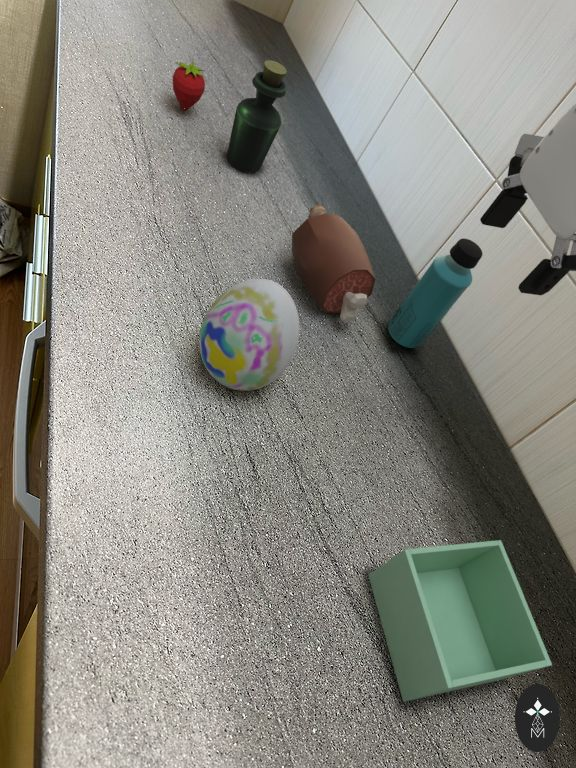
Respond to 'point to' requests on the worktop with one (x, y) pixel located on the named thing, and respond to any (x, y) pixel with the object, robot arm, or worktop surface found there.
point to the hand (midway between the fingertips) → (509, 256)
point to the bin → (455, 618)
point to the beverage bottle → (434, 294)
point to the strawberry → (188, 85)
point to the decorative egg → (250, 335)
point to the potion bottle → (257, 120)
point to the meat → (332, 264)
